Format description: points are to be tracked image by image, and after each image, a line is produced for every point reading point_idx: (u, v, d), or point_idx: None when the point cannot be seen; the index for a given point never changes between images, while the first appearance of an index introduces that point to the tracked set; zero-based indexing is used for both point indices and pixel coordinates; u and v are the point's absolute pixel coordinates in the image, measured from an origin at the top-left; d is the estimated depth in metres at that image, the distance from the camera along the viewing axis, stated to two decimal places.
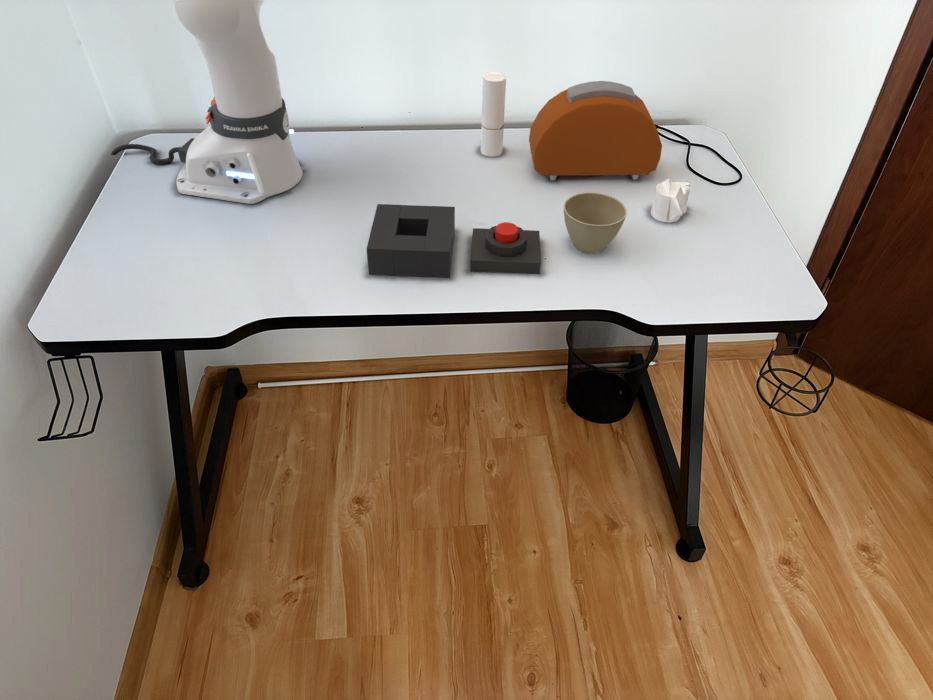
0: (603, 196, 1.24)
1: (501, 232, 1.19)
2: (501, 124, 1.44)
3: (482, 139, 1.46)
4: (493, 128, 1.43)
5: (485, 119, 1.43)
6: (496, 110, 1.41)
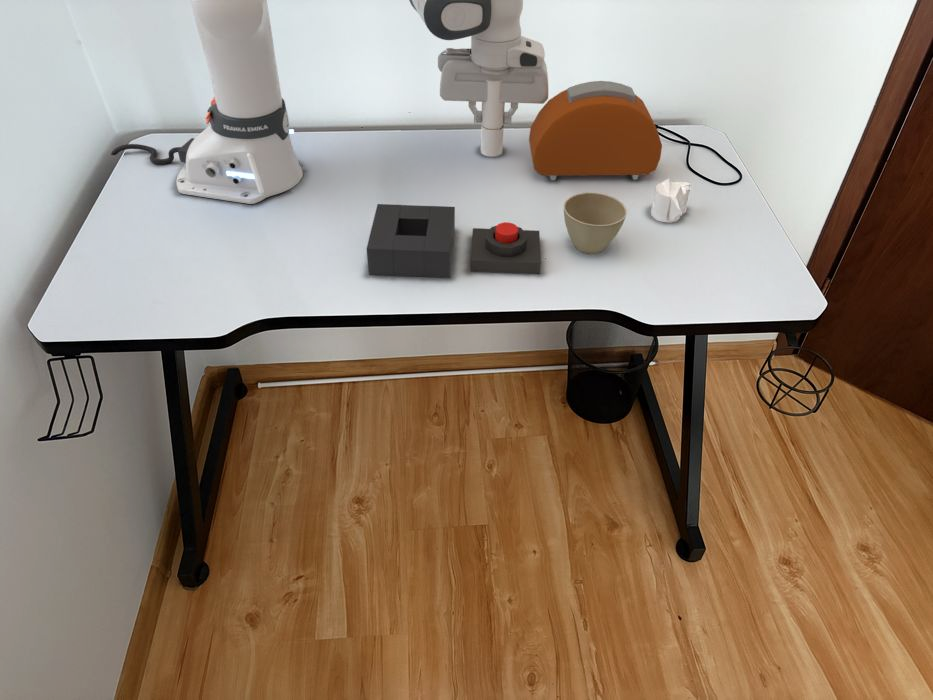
0: (603, 196, 1.24)
1: (501, 232, 1.19)
2: (501, 124, 1.44)
3: (482, 139, 1.46)
4: (493, 128, 1.43)
5: (485, 119, 1.43)
6: (496, 110, 1.41)
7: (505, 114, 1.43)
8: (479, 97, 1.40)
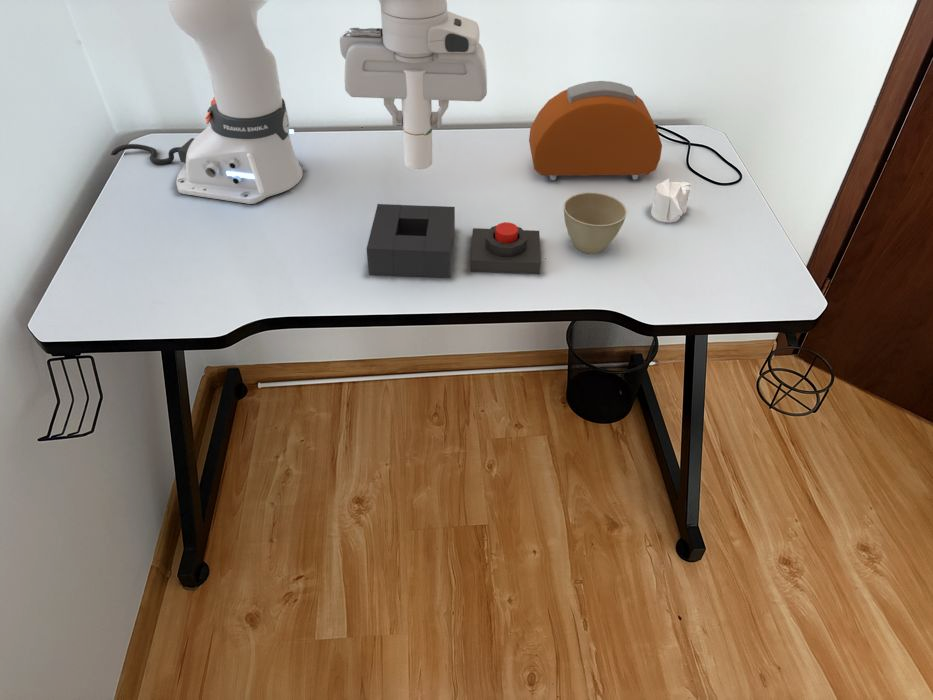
0: (603, 196, 1.24)
1: (501, 232, 1.19)
2: (428, 128, 1.11)
3: (405, 147, 1.13)
4: (417, 133, 1.11)
5: (407, 121, 1.10)
6: (420, 109, 1.08)
7: (433, 115, 1.10)
8: (396, 93, 1.07)
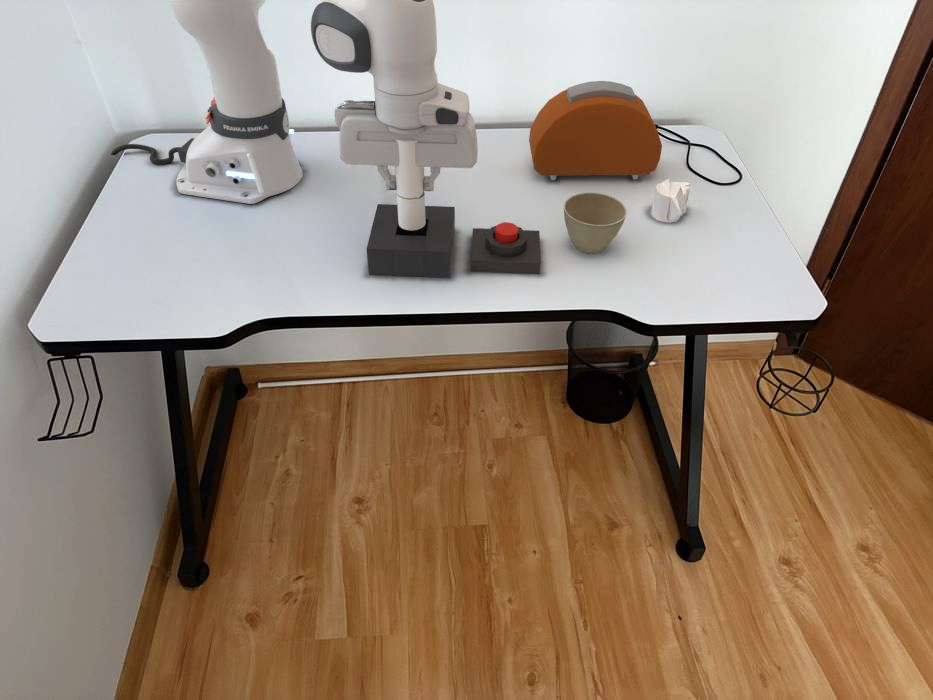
0: (603, 196, 1.24)
1: (501, 232, 1.19)
2: (420, 192, 1.14)
3: (398, 209, 1.17)
4: (410, 197, 1.14)
5: (400, 186, 1.13)
6: (412, 175, 1.12)
7: (425, 180, 1.14)
8: (389, 160, 1.10)
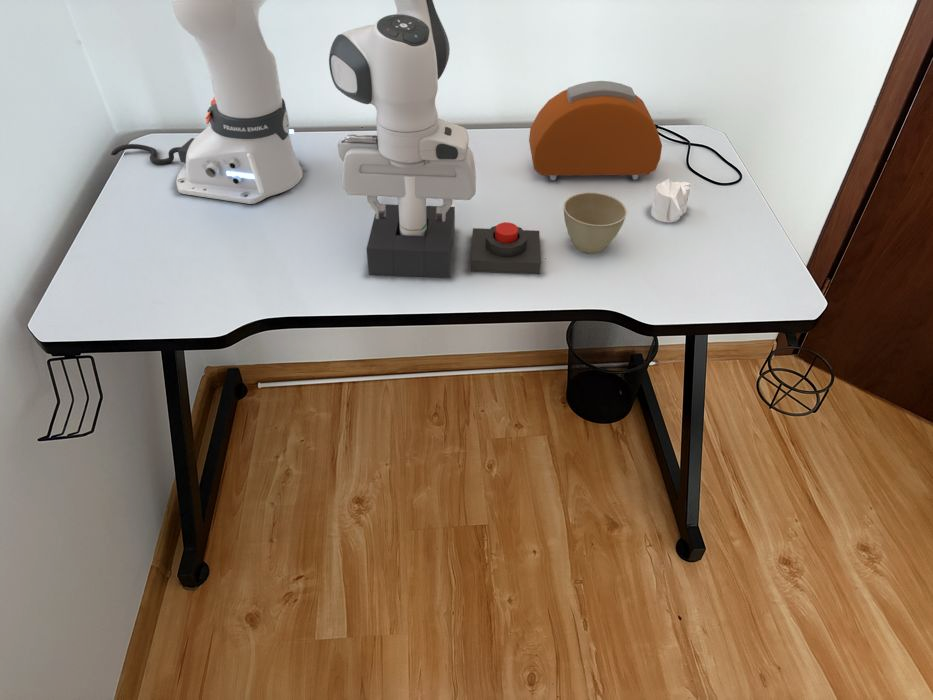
0: (603, 196, 1.24)
1: (501, 232, 1.19)
2: (422, 224, 1.18)
3: None
4: (413, 229, 1.18)
5: (403, 218, 1.17)
6: (415, 208, 1.16)
7: (438, 210, 1.18)
8: (391, 192, 1.14)
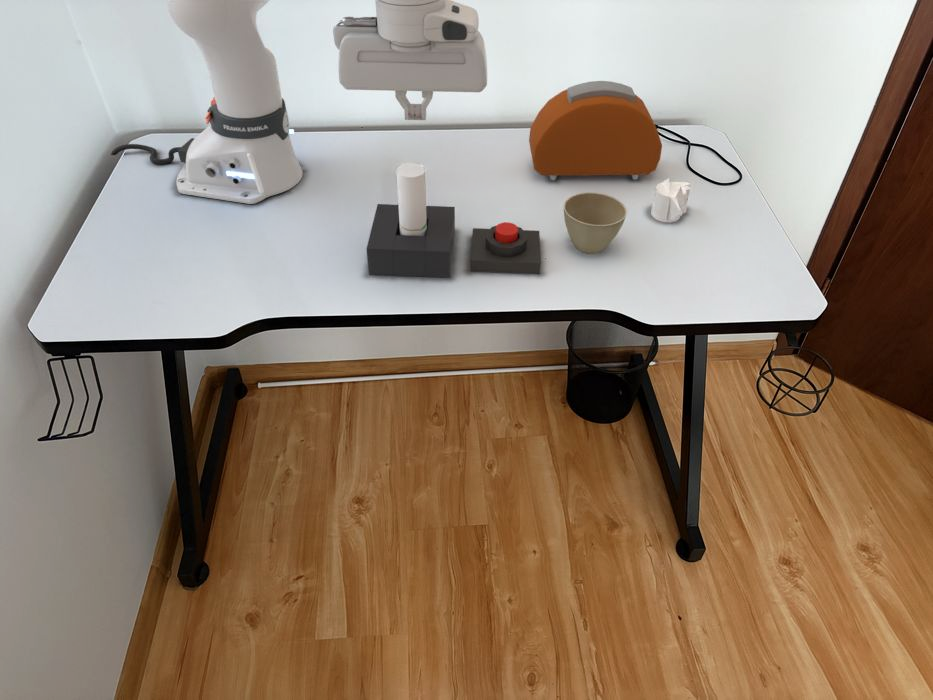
0: (603, 196, 1.24)
1: (501, 232, 1.19)
2: (422, 224, 1.18)
3: None
4: (413, 229, 1.18)
5: (403, 218, 1.17)
6: (415, 208, 1.16)
7: (417, 107, 1.06)
8: (393, 84, 1.02)
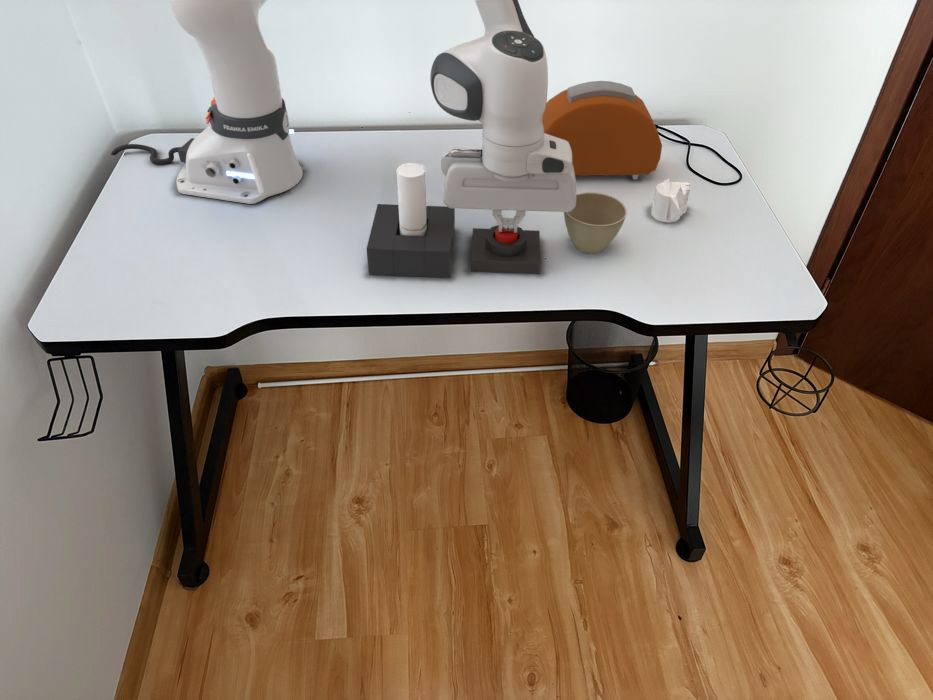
0: (603, 196, 1.24)
1: (501, 235, 1.19)
2: (422, 224, 1.18)
3: None
4: (413, 229, 1.18)
5: (403, 218, 1.17)
6: (415, 208, 1.16)
7: (510, 222, 1.18)
8: (492, 205, 1.15)
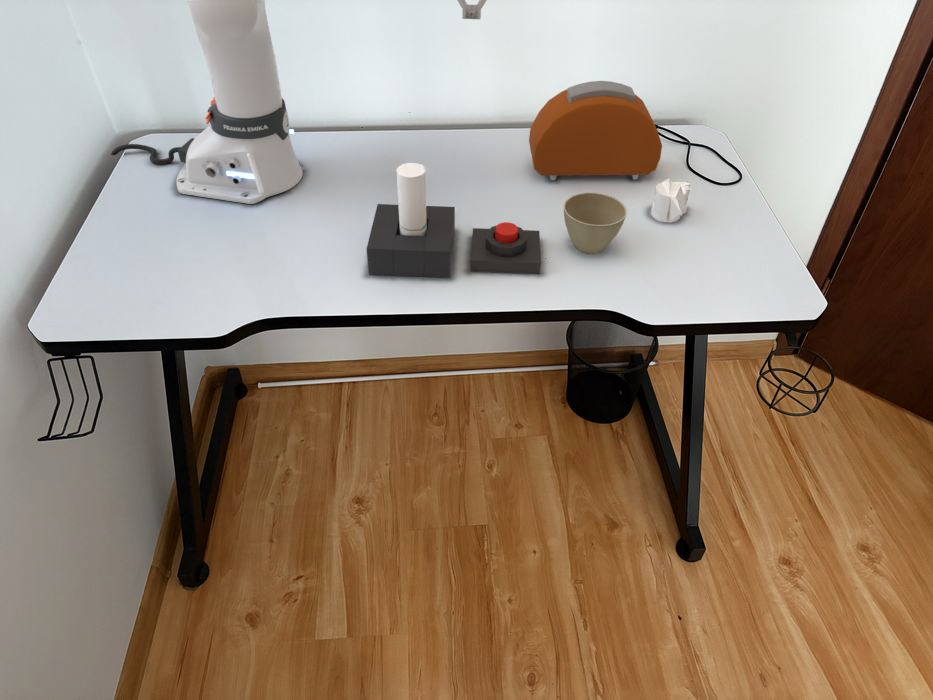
0: (603, 196, 1.24)
1: (501, 232, 1.19)
2: (422, 224, 1.18)
3: None
4: (413, 229, 1.18)
5: (403, 218, 1.17)
6: (415, 208, 1.16)
7: (473, 7, 1.20)
8: None
